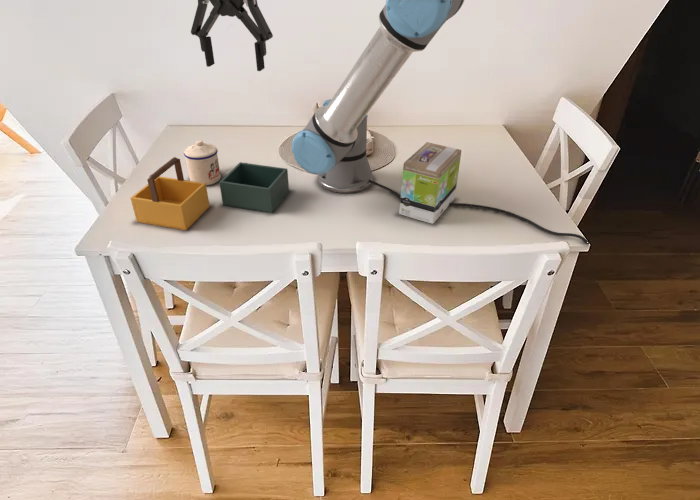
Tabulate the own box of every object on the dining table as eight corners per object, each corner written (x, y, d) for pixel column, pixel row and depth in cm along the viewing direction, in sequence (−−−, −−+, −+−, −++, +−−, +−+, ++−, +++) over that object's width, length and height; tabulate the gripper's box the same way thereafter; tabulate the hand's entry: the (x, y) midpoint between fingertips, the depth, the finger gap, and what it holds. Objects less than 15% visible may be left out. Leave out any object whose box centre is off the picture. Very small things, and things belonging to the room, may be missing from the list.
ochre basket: (209, 206, 142) (201, 159, 134) (186, 230, 132) (175, 181, 124) (163, 199, 145) (152, 152, 137) (136, 222, 135) (123, 173, 128)
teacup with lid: (215, 187, 150) (209, 148, 143) (184, 185, 151) (176, 147, 144) (228, 168, 160) (223, 131, 153) (199, 166, 161) (192, 129, 154)
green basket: (289, 191, 148) (287, 168, 144) (271, 213, 139) (269, 189, 135) (242, 184, 151) (239, 162, 147) (222, 205, 142) (219, 182, 138)
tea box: (434, 225, 134) (440, 171, 125) (398, 215, 138) (401, 162, 129) (455, 199, 145) (462, 148, 136) (421, 190, 149) (425, 140, 140)
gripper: (281, -30, 120) (288, 66, 132) (182, -34, 126) (197, 59, 138) (268, -25, 114) (276, 76, 127) (165, -29, 120) (182, 67, 132)
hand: (235, 67), depth 132 cm, fingers open, 13 cm apart
